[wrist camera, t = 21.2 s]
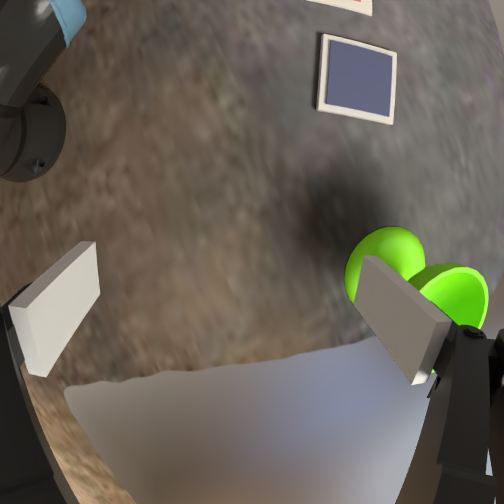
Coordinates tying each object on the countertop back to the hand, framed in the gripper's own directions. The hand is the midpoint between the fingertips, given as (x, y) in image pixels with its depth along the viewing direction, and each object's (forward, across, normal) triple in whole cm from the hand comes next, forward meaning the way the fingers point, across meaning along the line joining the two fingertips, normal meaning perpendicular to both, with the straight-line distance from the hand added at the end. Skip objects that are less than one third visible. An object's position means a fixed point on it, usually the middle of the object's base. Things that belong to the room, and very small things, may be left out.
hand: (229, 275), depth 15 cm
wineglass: (+32, +28, -12) cm, 44 cm away
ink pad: (+32, +18, +18) cm, 41 cm away
